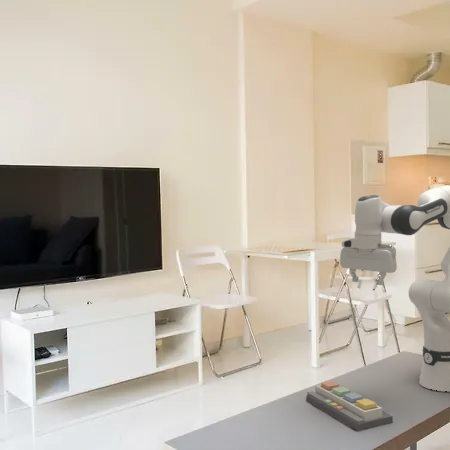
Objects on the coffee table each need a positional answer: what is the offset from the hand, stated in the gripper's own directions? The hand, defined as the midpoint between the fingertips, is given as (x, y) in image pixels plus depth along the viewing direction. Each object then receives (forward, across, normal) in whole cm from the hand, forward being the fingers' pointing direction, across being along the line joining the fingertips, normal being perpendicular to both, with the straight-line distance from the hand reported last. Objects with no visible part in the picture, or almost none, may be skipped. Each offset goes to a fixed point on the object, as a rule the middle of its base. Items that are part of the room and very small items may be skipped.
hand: (367, 283), depth 185 cm
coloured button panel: (+41, 0, +12) cm, 43 cm away
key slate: (+37, -3, +13) cm, 40 cm away
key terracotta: (+37, +8, +9) cm, 39 cm away
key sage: (+37, +3, +11) cm, 39 cm away
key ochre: (+37, -9, +15) cm, 41 cm away
